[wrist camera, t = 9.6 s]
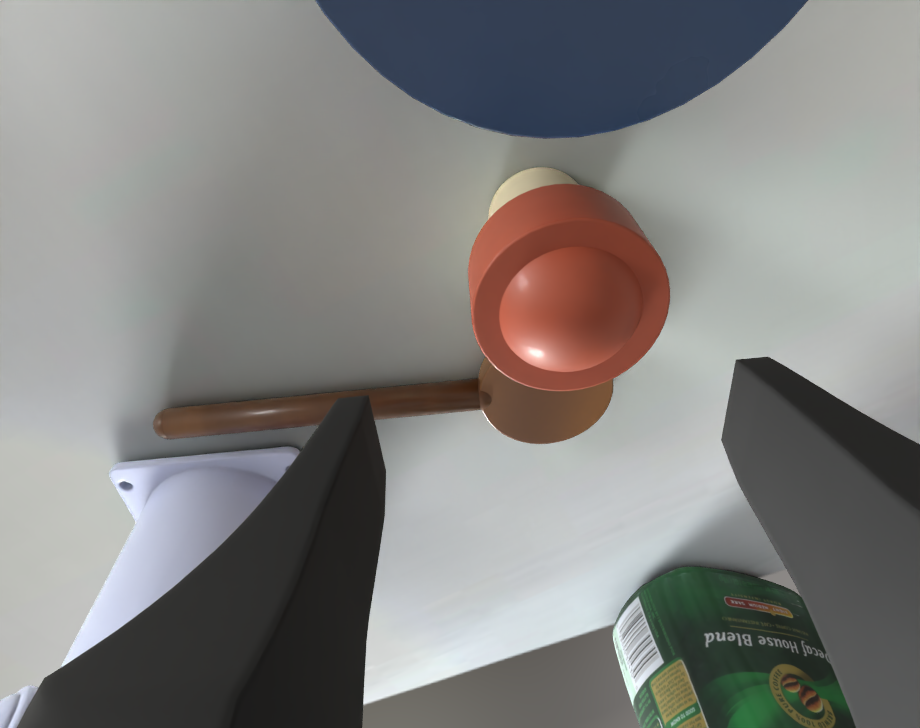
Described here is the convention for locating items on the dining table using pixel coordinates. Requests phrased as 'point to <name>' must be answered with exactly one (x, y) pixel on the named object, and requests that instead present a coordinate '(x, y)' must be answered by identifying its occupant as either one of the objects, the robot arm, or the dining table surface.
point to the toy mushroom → (563, 284)
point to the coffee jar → (725, 655)
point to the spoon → (409, 408)
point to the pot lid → (557, 56)
